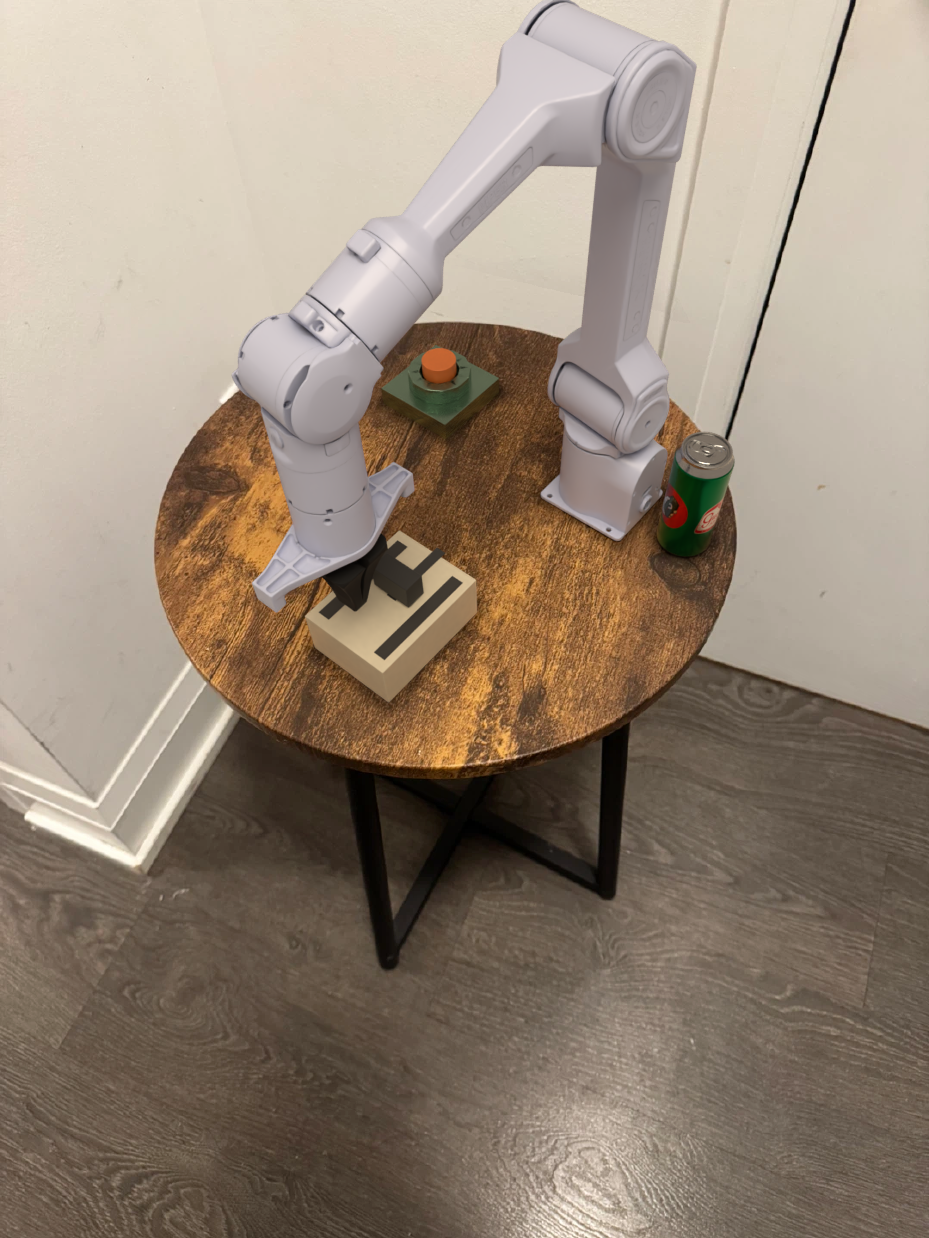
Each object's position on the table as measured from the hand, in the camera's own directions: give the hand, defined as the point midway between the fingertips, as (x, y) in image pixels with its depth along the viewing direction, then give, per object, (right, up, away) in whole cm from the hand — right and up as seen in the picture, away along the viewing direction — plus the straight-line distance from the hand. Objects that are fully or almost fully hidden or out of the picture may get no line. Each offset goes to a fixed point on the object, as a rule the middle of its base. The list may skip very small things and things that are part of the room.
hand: (352, 600), depth 71 cm
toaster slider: (+3, +1, +5) cm, 6 cm away
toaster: (+3, -3, +9) cm, 10 cm away
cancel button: (+6, +25, +23) cm, 34 cm away
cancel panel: (+6, +22, +26) cm, 35 cm away
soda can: (+30, +6, +14) cm, 34 cm away
